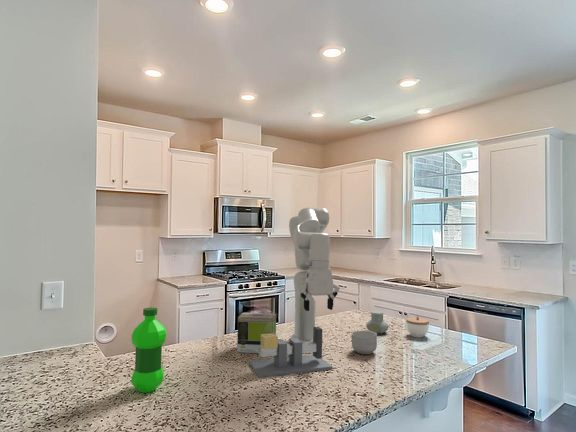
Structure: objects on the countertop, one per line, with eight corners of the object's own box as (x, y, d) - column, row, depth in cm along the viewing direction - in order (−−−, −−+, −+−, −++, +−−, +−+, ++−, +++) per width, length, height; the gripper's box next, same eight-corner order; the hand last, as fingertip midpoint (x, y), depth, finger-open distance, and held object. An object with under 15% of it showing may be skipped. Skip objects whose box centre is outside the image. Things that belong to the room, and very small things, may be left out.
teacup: (370, 358, 153) (370, 338, 154) (346, 352, 160) (346, 333, 160) (383, 350, 164) (384, 331, 165) (361, 344, 171) (361, 326, 171)
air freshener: (390, 332, 194) (390, 312, 194) (385, 335, 187) (385, 315, 187) (369, 328, 199) (369, 309, 200) (363, 332, 192) (364, 312, 193)
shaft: (257, 360, 140) (258, 330, 140) (317, 354, 148) (318, 326, 148) (260, 364, 136) (261, 333, 137) (321, 358, 144) (322, 329, 145)
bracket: (249, 363, 144) (249, 338, 144) (316, 356, 153) (317, 333, 154) (258, 377, 131) (259, 349, 131) (332, 369, 140) (332, 343, 141)
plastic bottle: (152, 379, 127) (155, 304, 128) (171, 388, 120) (173, 309, 121) (123, 389, 119) (126, 308, 120) (141, 399, 112) (144, 314, 113)
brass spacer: (260, 345, 141) (260, 334, 141) (273, 344, 143) (273, 333, 143) (264, 349, 136) (264, 337, 136) (277, 348, 138) (277, 336, 138)
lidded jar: (406, 337, 185) (406, 317, 185) (405, 331, 195) (406, 313, 195) (429, 339, 181) (429, 320, 182) (428, 334, 192) (428, 315, 192)
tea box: (275, 347, 165) (276, 312, 165) (272, 354, 155) (273, 318, 155) (241, 345, 166) (242, 311, 167) (236, 352, 156) (237, 316, 157)
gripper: (302, 266, 140) (301, 312, 140) (343, 265, 146) (343, 310, 145) (294, 264, 148) (294, 309, 147) (335, 264, 153) (334, 307, 152)
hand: (318, 309), depth 146 cm, fingers open, 9 cm apart
